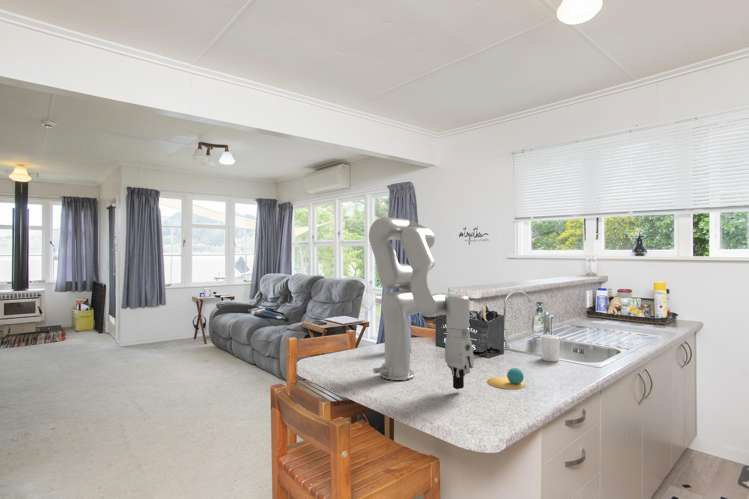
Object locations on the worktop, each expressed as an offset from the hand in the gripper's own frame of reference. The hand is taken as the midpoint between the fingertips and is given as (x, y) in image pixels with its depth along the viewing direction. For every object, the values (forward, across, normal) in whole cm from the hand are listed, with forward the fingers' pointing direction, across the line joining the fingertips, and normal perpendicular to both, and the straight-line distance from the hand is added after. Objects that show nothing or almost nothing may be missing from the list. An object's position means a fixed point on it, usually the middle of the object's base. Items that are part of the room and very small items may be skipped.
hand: (458, 387), depth 138 cm
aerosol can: (+2, +55, -11) cm, 56 cm away
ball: (-1, -2, -23) cm, 23 cm away
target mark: (+2, 0, -21) cm, 21 cm away
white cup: (+2, +15, -61) cm, 63 cm away
